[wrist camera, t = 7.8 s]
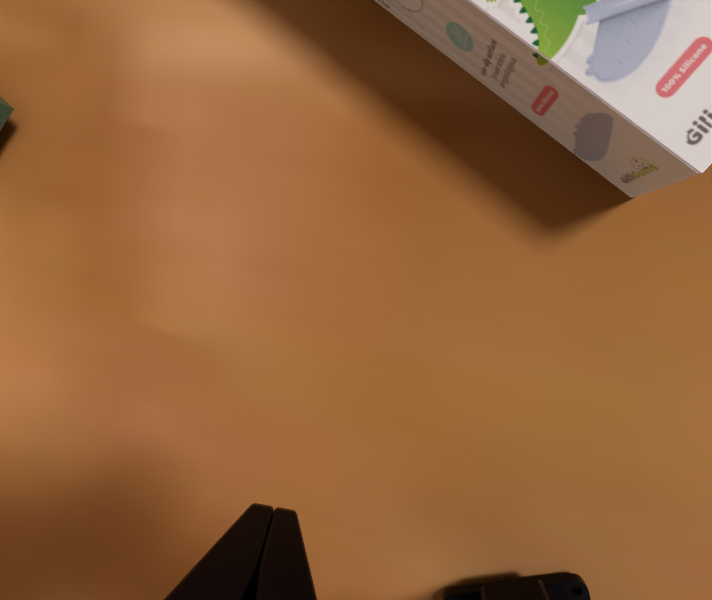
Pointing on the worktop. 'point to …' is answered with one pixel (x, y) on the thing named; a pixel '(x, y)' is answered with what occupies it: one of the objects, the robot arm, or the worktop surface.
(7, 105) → the teal green slab
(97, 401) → the worktop surface
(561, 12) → the box
